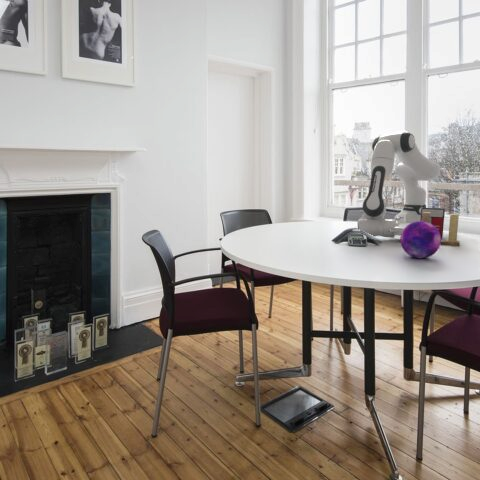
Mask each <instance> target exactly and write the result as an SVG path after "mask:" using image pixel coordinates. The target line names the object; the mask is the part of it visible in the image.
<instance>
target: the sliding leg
mask: <svg viewBox="0 0 480 480" xmlns="http://www.w3.org/2000/svg"><path fill="white" fill-rule="evenodd" d="M430 214H431V212H422V221H425V222H429V223H430Z"/></svg>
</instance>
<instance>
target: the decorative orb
mask: <svg viewBox="0 0 480 480" xmlns="http://www.w3.org/2000/svg"><path fill="white" fill-rule="evenodd" d="M400 238H401V239H400ZM400 238H399V241H400V240H401V242H400V244H401V247H402V250H403V251H404V252H405V253H406V254H407V255H408V256H410V257H412V258H415V259H427V258H429V257H431V256H433V255H434V254H436V253H437V251H438V250H439V248H440V247H441V245H440V244H441V236H440V233H439V231H438V229H437V228H436V227H435V226H434V225H432V224H431V223H429V222H425V221H416V222H413V223H411V224H409V225H408V226H406V227H405V229H404V230H403V232H402V234H401V236H400Z"/></svg>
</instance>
